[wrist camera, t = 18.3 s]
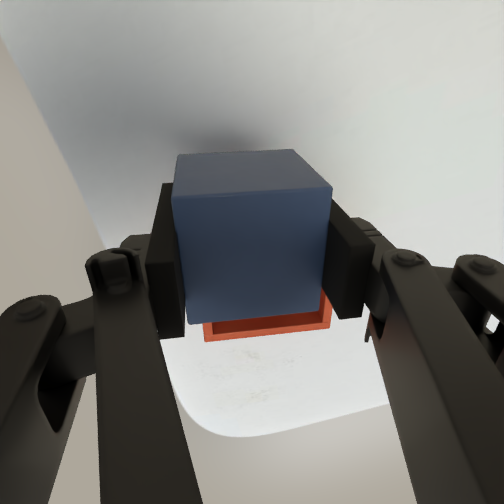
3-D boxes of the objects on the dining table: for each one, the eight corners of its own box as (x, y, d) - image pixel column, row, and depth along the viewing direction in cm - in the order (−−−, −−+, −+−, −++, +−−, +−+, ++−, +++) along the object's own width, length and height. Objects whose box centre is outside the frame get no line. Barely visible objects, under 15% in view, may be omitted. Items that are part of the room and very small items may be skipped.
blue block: (176, 153, 14) (170, 197, 10) (293, 148, 15) (334, 186, 11) (189, 256, 17) (187, 325, 13) (288, 248, 17) (319, 311, 13)
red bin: (191, 201, 29) (191, 224, 25) (325, 193, 30) (345, 213, 26) (203, 309, 35) (204, 342, 31) (315, 298, 36) (329, 328, 32)
